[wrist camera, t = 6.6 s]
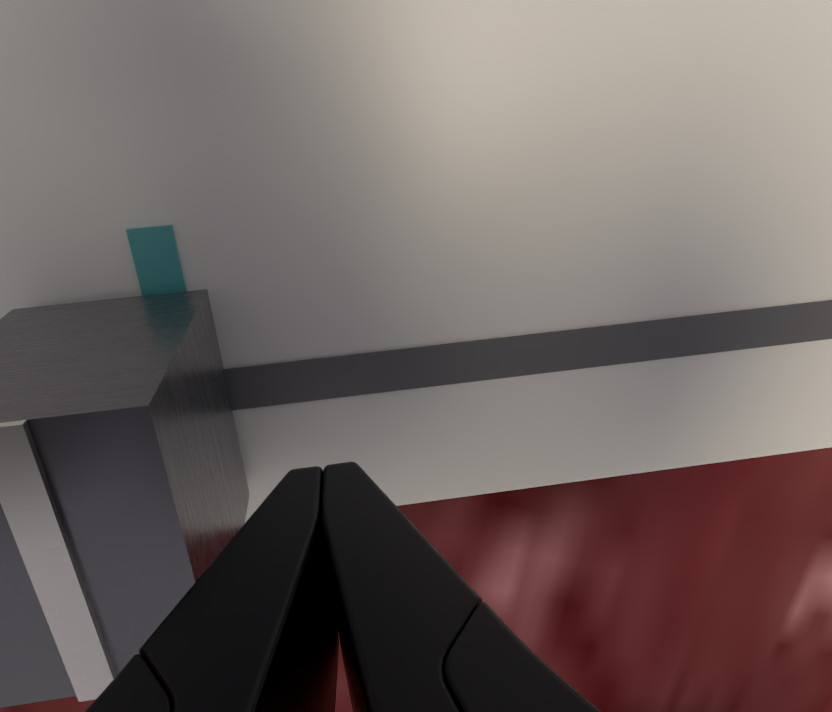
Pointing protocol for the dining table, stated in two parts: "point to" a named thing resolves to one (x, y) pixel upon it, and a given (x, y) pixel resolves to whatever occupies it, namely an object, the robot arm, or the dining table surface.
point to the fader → (107, 483)
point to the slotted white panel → (446, 221)
